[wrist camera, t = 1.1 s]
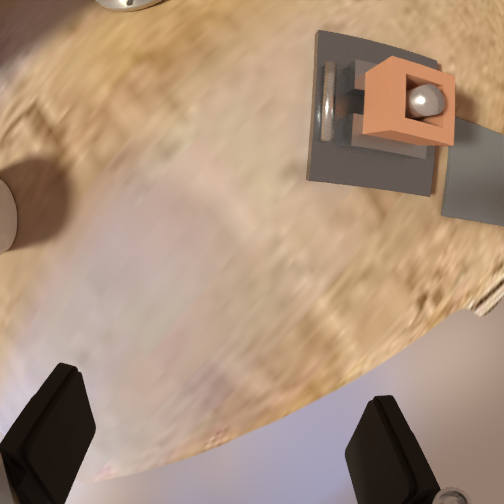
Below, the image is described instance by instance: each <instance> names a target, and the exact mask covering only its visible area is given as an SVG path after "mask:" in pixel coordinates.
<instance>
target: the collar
mask: <svg viewBox="0 0 504 504" xmlns="http://www.w3.org/2000/svg"><path fill="white" fill-rule="evenodd" d="M425 84H432V85H434V86H436V87H437V88H438V89H439V90H440V91H441V93H442V95H443V97H444V109H443V111H442V112H441V113H440V114H437V115H431V116H425V117H418V118H412V119H408V118H405V105H406V91H408V90H410V89H413V88H416V87H419V86H422V85H425ZM454 125H455V77H454V76H451V75H449V74H446V73H443V72H441V71H438V70H435V69H432V68H430V67H427V66H424V65H421V64H418V63H414V62H411V61H408V60H405V59H401V58H398V57H394V56H391V57H389V58H388V59H386V60H385V61H383V62H381V63H380V64H378V65H377V66H375V67H373V68H372V69H370V70H369V71H367V72H366V73H365V99H364V118H363V134H365V135H370V136H376V137H381V138H386V139H391V140H396V141H401V142H406V143H410V144H415V145H438V146H453V144H454Z"/></svg>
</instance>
